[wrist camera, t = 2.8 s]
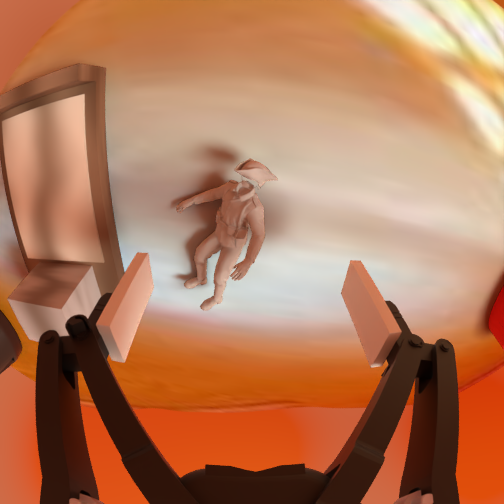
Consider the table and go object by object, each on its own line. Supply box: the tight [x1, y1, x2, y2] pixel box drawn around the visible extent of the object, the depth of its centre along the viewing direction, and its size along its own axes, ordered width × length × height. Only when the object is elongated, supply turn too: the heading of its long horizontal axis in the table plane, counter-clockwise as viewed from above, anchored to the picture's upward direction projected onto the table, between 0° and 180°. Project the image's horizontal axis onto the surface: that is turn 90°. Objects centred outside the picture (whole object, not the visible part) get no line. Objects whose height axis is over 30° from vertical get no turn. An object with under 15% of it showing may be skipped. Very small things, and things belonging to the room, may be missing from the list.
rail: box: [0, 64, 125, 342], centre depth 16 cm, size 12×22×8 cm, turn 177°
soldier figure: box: [176, 159, 278, 311], centre depth 20 cm, size 8×5×12 cm
